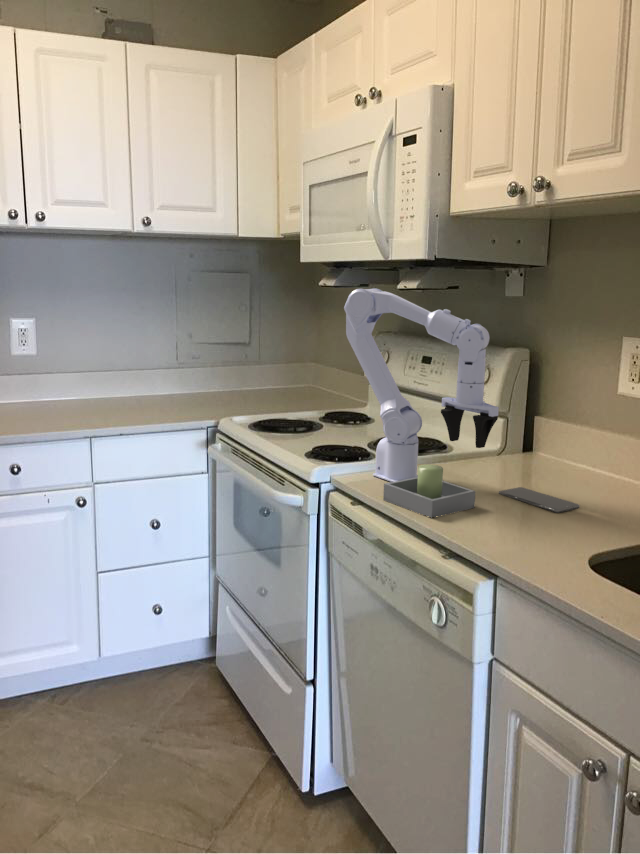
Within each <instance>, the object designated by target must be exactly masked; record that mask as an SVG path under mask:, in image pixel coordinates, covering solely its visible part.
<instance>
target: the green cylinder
mask: <svg viewBox="0 0 640 854" xmlns="http://www.w3.org/2000/svg"><path fill="white" fill-rule="evenodd" d="M417 475H418V482H417V494H419V495H422V496H425V497H428V498H430V499H436V498H440V497H442V481H444V480H443V478H444V477H443V476H444V467H443V466H441V465H437V464H431V463H430V464H420V465H417Z"/></svg>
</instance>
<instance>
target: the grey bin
mask: <svg viewBox="0 0 640 854" xmlns="http://www.w3.org/2000/svg"><path fill="white" fill-rule="evenodd" d="M417 482H418V477H415V478H410V479H405V480H400V481H395V482H390V481H389V482H386V483H383V496H382V497H383V499H382V500H383V501H385V502H388V503H391V504H393V505H395V504H396V506H398V507H401V508H404V509H405V508H406V509H405V510H408V509H409V510H408V511H411V510H412V511H411V512H413V511H414V512H413V513H416V512H417V513H416V514H419V513H420V515H421V514H423V515H422V516H424V515H426V516H429V517H431V518H430V519H433V518H432V517H435V518H437V517H436V516H439V517H442V516H441V515H443V516H446V515H445V514H447V515H450V513H451V514H455V513H459V512H463V511H466V510H470V509H475V505H476V504H475V502H476V490H473V489H470V488H467V487H464V486H460V485H457V484H454V483H451V482H449V481H446V480H443V481H442V497H440V498H436V499H430V498H428V497H425V496H422V495H419V494H417ZM458 511H459V512H458ZM454 512H455V513H454ZM426 516H425V517H426ZM429 517H428V518H429Z"/></svg>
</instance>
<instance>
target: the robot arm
mask: <svg viewBox="0 0 640 854" xmlns="http://www.w3.org/2000/svg"><path fill="white" fill-rule="evenodd" d="M343 309H344V312H345V314H346V315H345V322H346V323H345V334H346V338H347V341H348V342H349V345H350V346H351V348H352V350H353V353H354V355H355V356H356V359H357V360H358V362H359V365H360V367H361V369H362V371H363V373H364V375H365V376H366V379H367V381H368V382H369V385H370V386H371V390H372V391H373V393H374V395H375V398H376V399H377V401H378V403H379V405H380V411H379V412H380V413H379V417H380V418H381V421H382V430H383V434H384V436H385V437H383V438H382V439H380V440H379V442H378V443H377V445H376V451H375V472H374V473H372V476H373V477H376V478H379V479H381V480H382V479H383V480H384V481H387V482H389V483H390V482H395V481H400V480H405V479H410V478H415V477H418V455H419V438H418V433H420V430H421V429H422V426H423V419H422V416H421V415H420V413H419V412H418V411H417V410H415V409H414V407H413V406H412V405H411V403H410V401H409V400H407V399H406V397H404V396H403V395H402V393H401V391H400V389H399V387H398V384H397V383H396V381H395V379H394V377H393V375H392V373H391V371H390V368H389V367H388V365H387V363H386V361H385V359H384V356H383V354H382V353H381V351H380V349H379V347H378V345H377V342H376V341H375V339H374V336H373V335H372V334H373V331H374V329H375V326H376V323H377V321H378V320H379V319H380V318H381V317H382V315H383V314H391V313H392V314H395V315H397V316H399V317H403V318H405V319H407V320H409V321H412V322H415V323H416V324H419V325H422V326H424V327H425V329H426V332H427V334H428V335H430V336H432V337H435V338H437V339H438V340H441V341H443V342H446V343H447V344H450V345H452V346H456V348H457V349H458V351H459V352H458V353H459V354H458V361H457V362H458V363H457V380H456V392H455V393H456V395H455V397H449V396H446V397H442V398H441V407H444V408H442V409H440V414H441V415H442V417H443V420H444V422H445V425H446V429H447V432H448V438H449V442H455V441H456V442H458V441H459V439H460V432H461V424H462V419H463V417H464V413H465V411H466V412H471V413H477V415H472V420H473V423H474V429H475V448H476V449H480V448H481V449H482V448H485V447H486V443H487V441H488V437H489V435H490V432H491V430H492V428H493V427H494V425H495V423H496V422H497V421H498V418H499V410H500V409H499V406H495V405H493V404H491V403H490V404H489V403H487V402H485V400H484V395H485V394H484V393H485V392H484V391H485V379H486V378H485V376H486V364H487V363H486V354H487V352H486V351H487V347H488V345H489V343H490V340H491V339H490V333H489V331H488V329H487V328H486V327H484V326H482V324H480V323H474V324H471V322H472V321H471V320H470V319H468V318H465V319H462V318H460V317H457V316H455V315H453V314H451V312H452V311H451V310H450V309H447V308H445V309H443V310H442V309H437V310H434V311H430V310H428V309H426V308H424V307H421V306H419V305H418V304H416V303H414V302H411V301H409V300H407V299H406V298H403V297H401V296H399V295H397V294H394V293H392V292H389V291H385V290H384V291H383V290H382V289H379V288H376V287H375V288H356V289H354V290H353V291H351V292H350V293H349V295H348V297H347V299H346V302H345V304H344V307H343Z"/></svg>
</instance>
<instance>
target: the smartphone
mask: <svg viewBox="0 0 640 854" xmlns="http://www.w3.org/2000/svg"><path fill="white" fill-rule="evenodd" d="M498 494H499V495H500V496H503V497H507V498H510V499H513V500H515V501H519V502H522V503H523V504H524V503H525V504H528V505H529V506H534V507H536V508H539V509H542V510H545V511H548V512H550V513H551V512H552V513H555V514H562V513H565V512H569V511H573V510H574V511H575V510H578V509H580V507H581V505H580V504H578V503H576V502H573V501H570V500H566V499H562V498H559V497H556V496H553V495H549V494H546V493H542V492H539V491H535V490H532V489H529V488H525V487H522V486H521V487H513V488H508V489H504V490H499V491H498Z"/></svg>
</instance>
